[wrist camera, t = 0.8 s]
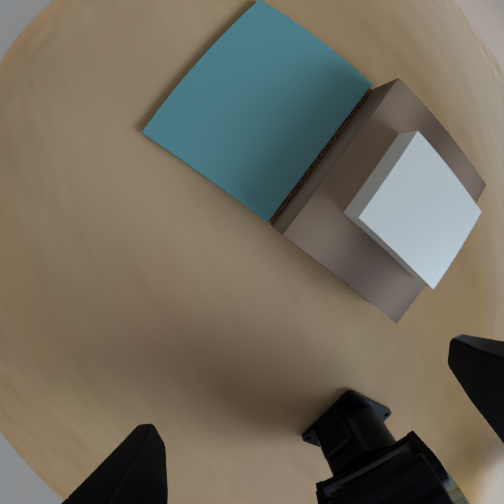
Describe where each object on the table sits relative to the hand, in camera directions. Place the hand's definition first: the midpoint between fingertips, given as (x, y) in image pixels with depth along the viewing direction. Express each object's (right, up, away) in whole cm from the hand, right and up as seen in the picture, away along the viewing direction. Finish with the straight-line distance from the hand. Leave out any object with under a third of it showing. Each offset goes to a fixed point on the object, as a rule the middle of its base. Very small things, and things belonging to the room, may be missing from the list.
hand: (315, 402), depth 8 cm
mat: (-1, +13, +11) cm, 17 cm away
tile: (+8, +7, +10) cm, 14 cm away
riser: (+7, +8, +13) cm, 17 cm away
